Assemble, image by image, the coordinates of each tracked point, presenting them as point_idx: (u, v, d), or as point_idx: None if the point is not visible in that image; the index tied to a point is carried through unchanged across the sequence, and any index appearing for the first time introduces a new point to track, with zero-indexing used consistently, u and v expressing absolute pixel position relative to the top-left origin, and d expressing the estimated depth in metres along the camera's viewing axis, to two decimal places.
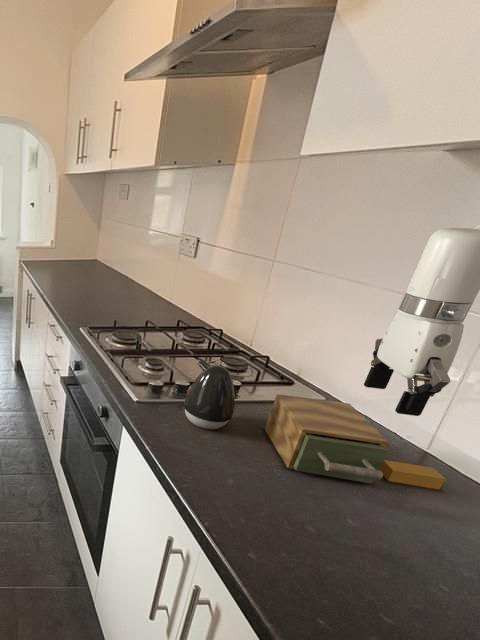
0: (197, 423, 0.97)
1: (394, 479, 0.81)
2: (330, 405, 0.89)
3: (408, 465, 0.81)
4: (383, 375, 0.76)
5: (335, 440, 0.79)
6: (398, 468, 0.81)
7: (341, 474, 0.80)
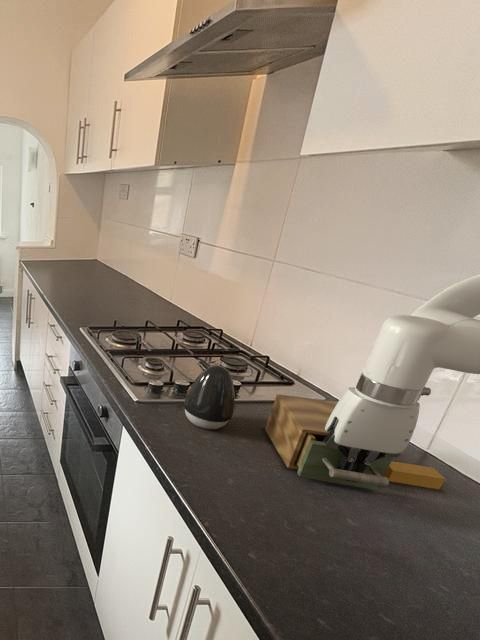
0: (197, 423, 0.97)
1: (394, 479, 0.81)
2: (330, 405, 0.89)
3: (408, 465, 0.81)
4: None
5: None
6: (398, 468, 0.81)
7: None
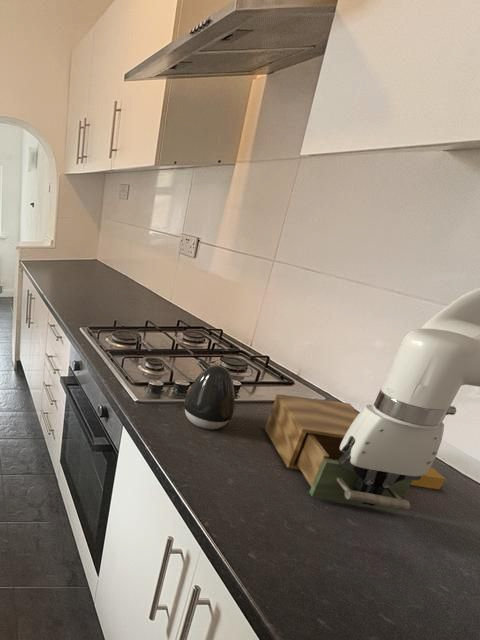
0: (197, 423, 0.97)
1: None
2: (330, 405, 0.89)
3: None
4: None
5: None
6: None
7: None
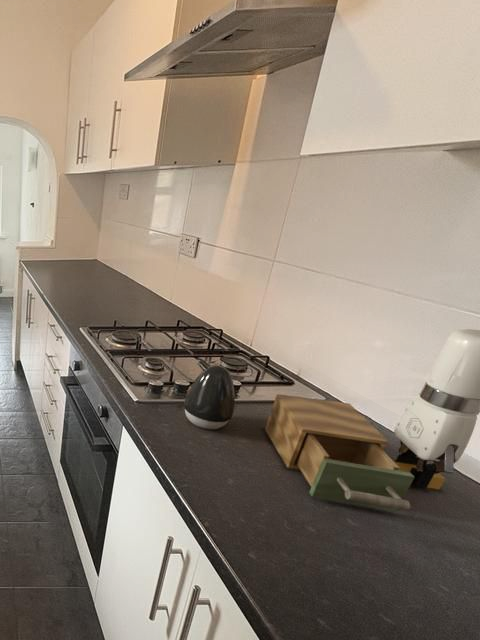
0: (197, 423, 0.97)
1: None
2: (330, 405, 0.89)
3: (408, 465, 0.81)
4: None
5: (356, 465, 0.72)
6: None
7: (362, 502, 0.73)
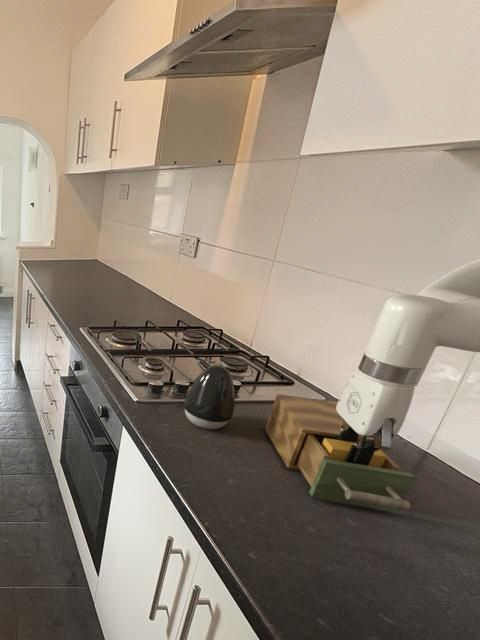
0: (197, 423, 0.97)
1: (334, 458, 0.76)
2: (330, 405, 0.89)
3: (350, 443, 0.77)
4: None
5: (356, 465, 0.72)
6: (338, 446, 0.76)
7: (362, 502, 0.73)
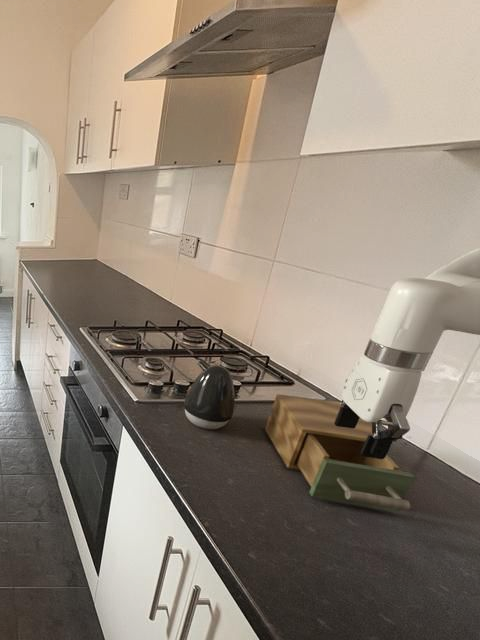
0: (197, 423, 0.97)
1: None
2: (330, 405, 0.89)
3: None
4: None
5: (356, 465, 0.72)
6: None
7: (362, 502, 0.73)
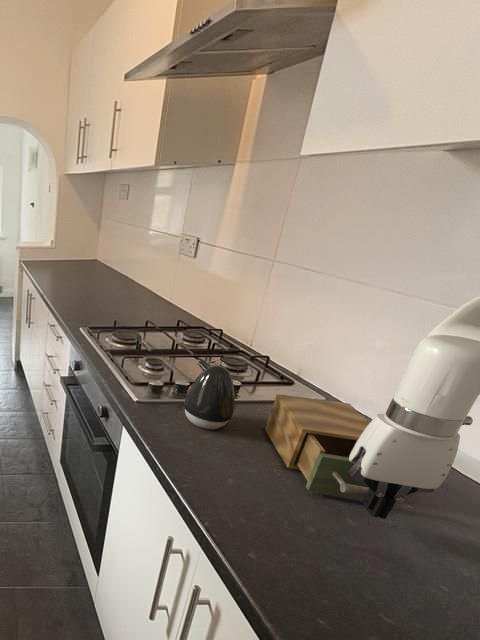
0: (197, 423, 0.97)
1: None
2: (330, 405, 0.89)
3: None
4: None
5: None
6: None
7: (357, 495, 0.75)
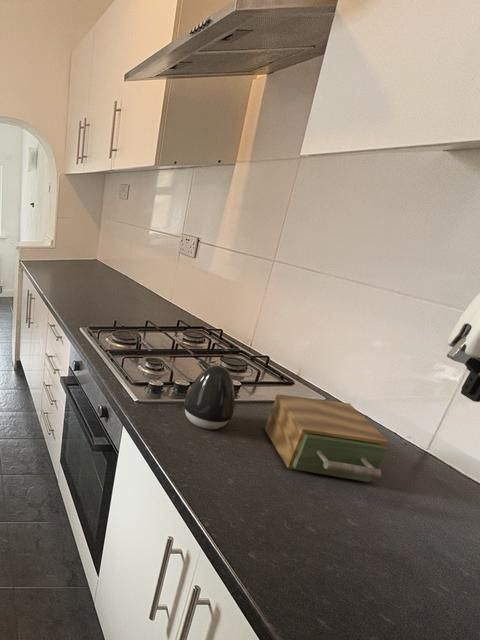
0: (197, 423, 0.97)
1: None
2: (330, 405, 0.89)
3: None
4: None
5: (334, 439, 0.79)
6: None
7: (340, 473, 0.81)
